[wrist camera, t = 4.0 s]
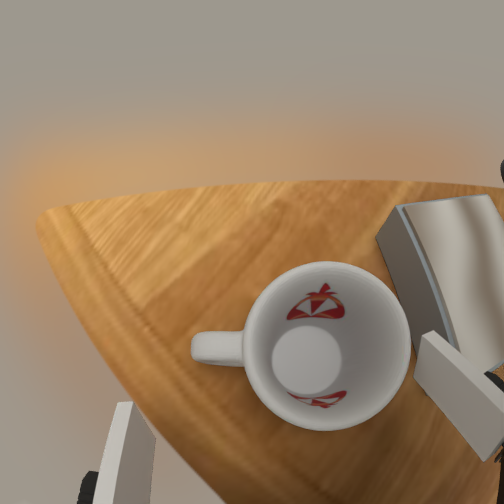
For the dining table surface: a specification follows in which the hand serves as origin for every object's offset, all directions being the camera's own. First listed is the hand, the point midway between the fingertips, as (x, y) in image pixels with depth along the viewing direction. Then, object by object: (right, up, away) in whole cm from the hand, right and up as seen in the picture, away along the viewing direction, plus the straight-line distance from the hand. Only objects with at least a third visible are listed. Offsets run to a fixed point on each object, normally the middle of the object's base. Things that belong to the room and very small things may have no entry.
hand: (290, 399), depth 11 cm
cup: (+1, -1, +8) cm, 8 cm away
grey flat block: (+16, +2, +9) cm, 19 cm away
